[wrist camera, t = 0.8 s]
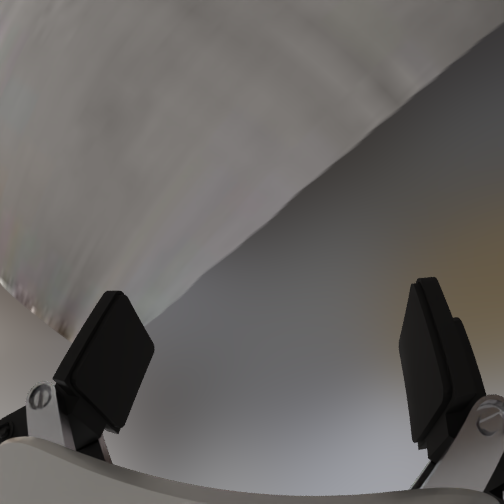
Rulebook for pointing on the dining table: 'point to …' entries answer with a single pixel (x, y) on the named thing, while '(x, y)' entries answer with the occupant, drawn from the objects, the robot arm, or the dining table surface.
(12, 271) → the dining table surface
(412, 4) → the dining table surface
